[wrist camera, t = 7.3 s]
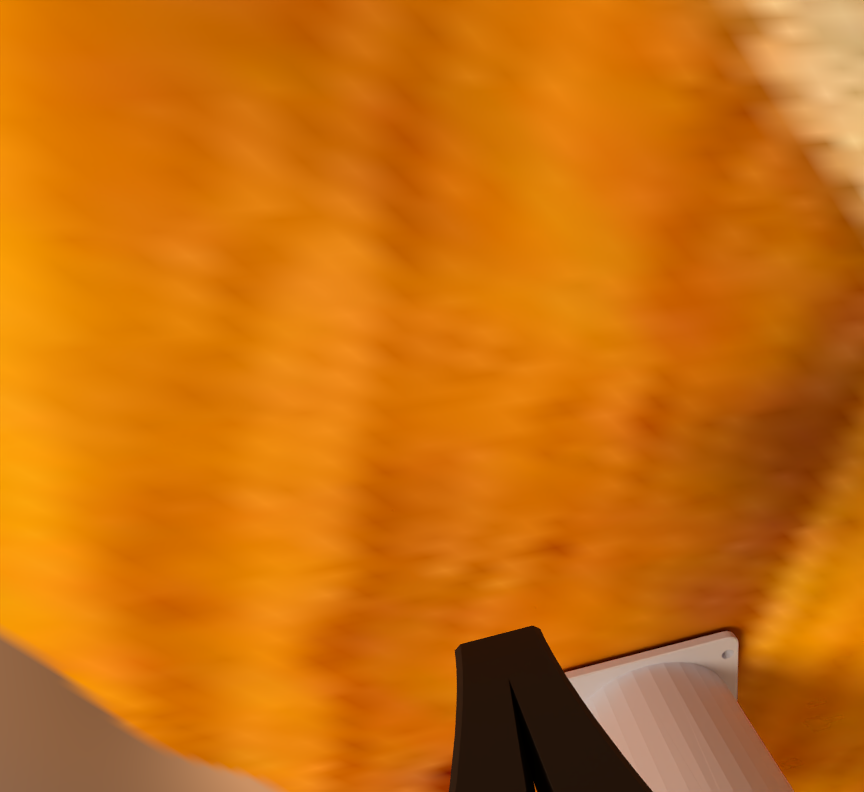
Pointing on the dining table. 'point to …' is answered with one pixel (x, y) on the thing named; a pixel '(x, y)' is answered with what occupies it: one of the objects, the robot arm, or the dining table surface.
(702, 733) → the robot arm
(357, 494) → the dining table surface
